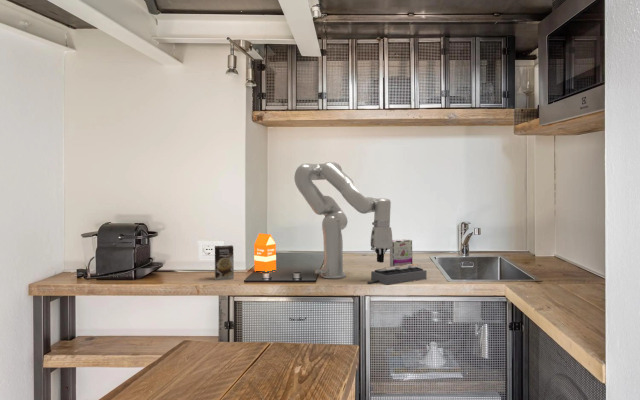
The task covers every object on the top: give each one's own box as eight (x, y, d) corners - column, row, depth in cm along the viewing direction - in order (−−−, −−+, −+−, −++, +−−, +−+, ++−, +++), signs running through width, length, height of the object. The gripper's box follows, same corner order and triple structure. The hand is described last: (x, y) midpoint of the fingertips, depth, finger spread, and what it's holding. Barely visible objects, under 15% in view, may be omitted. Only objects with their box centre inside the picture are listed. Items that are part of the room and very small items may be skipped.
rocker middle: (399, 269, 211) (399, 266, 211) (389, 269, 218) (389, 266, 218) (408, 268, 213) (408, 265, 213) (398, 268, 220) (397, 265, 220)
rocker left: (386, 270, 207) (386, 267, 207) (377, 271, 214) (376, 269, 214) (395, 269, 209) (395, 266, 210) (385, 270, 216) (385, 268, 217)
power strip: (374, 286, 202) (374, 276, 201) (360, 281, 212) (359, 271, 212) (426, 278, 216) (426, 269, 216) (410, 274, 226) (410, 264, 226)
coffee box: (215, 280, 218) (214, 247, 217) (214, 277, 224) (214, 245, 223) (234, 279, 220) (233, 246, 220) (233, 276, 227) (232, 244, 226)
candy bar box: (408, 269, 239) (408, 238, 238) (412, 271, 234) (412, 240, 233) (389, 270, 236) (389, 239, 235) (393, 272, 231) (393, 241, 230)
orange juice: (266, 273, 233) (265, 235, 232) (254, 271, 238) (253, 234, 237) (276, 270, 239) (275, 233, 238) (264, 268, 244) (263, 232, 243)
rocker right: (412, 267, 214) (412, 264, 214) (402, 267, 221) (401, 265, 221) (420, 266, 216) (420, 263, 216) (410, 266, 223) (409, 264, 224)
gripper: (373, 225, 207) (371, 264, 208) (399, 224, 214) (397, 262, 215) (364, 223, 213) (362, 261, 215) (389, 222, 220) (388, 259, 222)
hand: (380, 261), depth 215 cm, fingers closed
